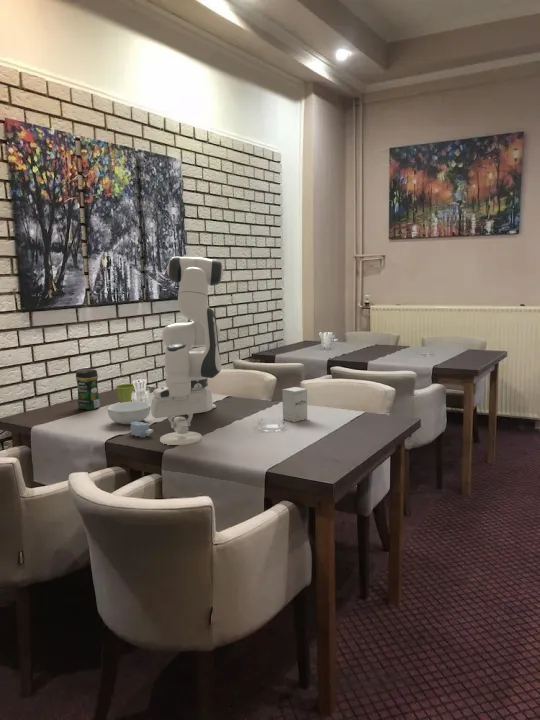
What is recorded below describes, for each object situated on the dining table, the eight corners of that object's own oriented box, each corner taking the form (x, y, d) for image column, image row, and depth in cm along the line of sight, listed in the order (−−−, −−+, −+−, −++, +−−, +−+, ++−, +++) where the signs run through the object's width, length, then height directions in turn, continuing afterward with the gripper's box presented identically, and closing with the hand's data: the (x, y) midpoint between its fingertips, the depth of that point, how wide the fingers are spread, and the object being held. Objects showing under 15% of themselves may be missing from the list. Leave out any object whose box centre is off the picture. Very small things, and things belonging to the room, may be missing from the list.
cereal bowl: (100, 425, 235) (98, 408, 234) (127, 416, 249) (126, 400, 248) (132, 429, 227) (131, 412, 226) (159, 419, 242) (158, 403, 241)
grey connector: (173, 429, 213) (172, 417, 213) (183, 427, 215) (182, 416, 214) (180, 435, 204) (179, 423, 204) (191, 434, 206) (190, 422, 205)
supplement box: (294, 422, 230) (293, 391, 228) (282, 419, 236) (281, 389, 234) (308, 419, 235) (307, 388, 233) (295, 416, 240) (295, 386, 238)
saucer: (155, 437, 215) (155, 434, 215) (194, 431, 221) (194, 429, 221) (165, 448, 202) (165, 445, 201) (206, 441, 207) (206, 439, 207)
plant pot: (141, 402, 274) (139, 384, 273) (126, 407, 266) (125, 388, 265) (126, 400, 279) (125, 383, 278) (112, 405, 271) (110, 386, 270)
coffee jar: (75, 409, 265) (71, 369, 263) (88, 405, 272) (85, 366, 269) (89, 411, 260) (86, 370, 257) (103, 407, 267) (100, 367, 264)
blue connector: (129, 434, 220) (128, 423, 219) (136, 432, 223) (136, 421, 223) (147, 438, 214) (146, 427, 214) (154, 436, 217) (154, 424, 217)
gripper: (203, 384, 215) (205, 421, 217) (148, 391, 207) (151, 428, 209) (209, 387, 210) (210, 424, 212) (152, 394, 202) (155, 432, 204)
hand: (180, 426), depth 210 cm, fingers closed on grey connector, 4 cm apart
